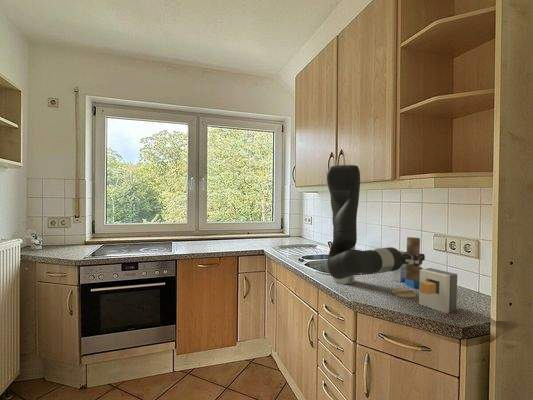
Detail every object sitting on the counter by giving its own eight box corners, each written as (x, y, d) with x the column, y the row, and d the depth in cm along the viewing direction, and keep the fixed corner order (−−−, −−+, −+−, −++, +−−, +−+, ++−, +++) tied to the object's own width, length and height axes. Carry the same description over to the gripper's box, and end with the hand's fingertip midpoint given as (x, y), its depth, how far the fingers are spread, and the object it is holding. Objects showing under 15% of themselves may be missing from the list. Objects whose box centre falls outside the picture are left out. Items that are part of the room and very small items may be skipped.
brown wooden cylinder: (403, 278, 103) (404, 237, 103) (410, 276, 105) (411, 237, 105) (414, 281, 100) (415, 239, 100) (421, 279, 102) (422, 238, 102)
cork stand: (387, 292, 126) (387, 290, 126) (401, 289, 130) (401, 287, 130) (406, 299, 118) (406, 296, 118) (420, 296, 122) (421, 293, 122)
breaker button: (419, 291, 108) (419, 282, 108) (426, 290, 110) (426, 281, 109) (428, 294, 105) (429, 284, 105) (435, 293, 107) (435, 283, 106)
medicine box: (400, 282, 142) (400, 264, 142) (391, 280, 145) (392, 262, 145) (409, 279, 146) (409, 262, 146) (400, 277, 150) (401, 260, 150)
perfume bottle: (417, 284, 139) (417, 258, 139) (426, 288, 133) (427, 261, 133) (405, 284, 138) (405, 258, 138) (413, 288, 132) (414, 261, 132)
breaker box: (419, 304, 113) (419, 269, 113) (429, 301, 116) (430, 267, 116) (445, 313, 104) (446, 276, 104) (456, 310, 107) (457, 274, 107)
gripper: (403, 252, 89) (437, 248, 97) (366, 244, 101) (399, 242, 110) (402, 277, 89) (437, 271, 98) (365, 267, 102) (399, 262, 110)
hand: (417, 255), depth 104 cm, fingers closed on brown wooden cylinder, 4 cm apart
